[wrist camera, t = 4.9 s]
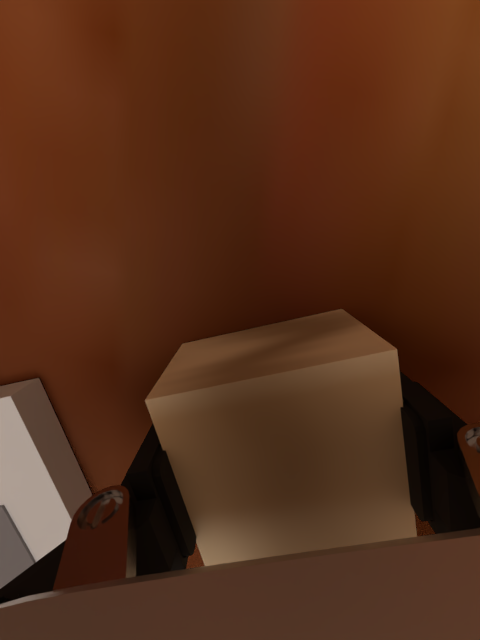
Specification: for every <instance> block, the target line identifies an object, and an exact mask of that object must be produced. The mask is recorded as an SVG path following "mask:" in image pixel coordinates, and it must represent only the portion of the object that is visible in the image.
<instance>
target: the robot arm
mask: <svg viewBox="0 0 480 640" xmlns="http://www.w3.org/2000/svg"><path fill="white" fill-rule="evenodd" d="M399 371H400V370H399ZM400 380H401V390H402V399H403V407H400V409H401V419H402V428H403V437H404V447H405V456H406V465H407V475H408V484H409V494H410V503H411V506H412V508H413V509H414V511H415V513H416V514H417V516H418V517H419V519H420V520H421V521H428V522H429V524H430V525H431V527H432V529H433V530H434V532H435V533H436V534H432V535H425V536H418V537H410V538H403V539H395V540H388V541H380V542H373V543H366V544H358V545H351V546H344V547H337V548H330V549H322V550H315V551H308V552H301V553H294V554H287V555H280V556H273V557H266V558H259V559H252V560H245V561H238V562H231V563H224V564H217V565H210V566H203V567H197V568H190V569H186V565H187V560H188V556H189V555H192V554H193V553H194V549H195V543H196V538H197V536H196V534H195V531H194V528H193V525H192V523H191V520H190V517H189V514H188V511H187V509H186V506H185V503H184V500H183V497H182V495H181V492H180V489H179V486H178V484H177V481H176V478H175V475H174V472H173V470H172V467H171V464H170V461H169V458H168V456H167V453H166V450H164V451H163V449H162V446H161V443H160V441H159V438H158V435H157V432H156V430H155V427H154V424H152V426H151V428H150V430H149V432H148V434H147V436H146V437H145V439H144V441H143V443H142V445H141V447H140V449H139V451H138V453H137V454H136V456H135V458H134V460H133V462H132V464H131V466H130V468H129V469H128V471H127V473H126V476H125V478H124V480H123V482H122V484H121V486H120V485H116V486H110V487H107V488H104V489H102V490H100V491H99V492H97V493H95V494H94V495H92V496H91V497H90V498H88V499H87V500H86V501H85V502H84V503H83V504H82V505H81V506H80V507H79V508H78V510H77V511H76V513H75V514H74V516H73V518H72V521H71V523H70V527H69V531H68V535H67V538H66V540H65V541H64V542H62V543H61V544H60V545H58V546H57V547H56V548H54V549H53V550H52V551H50V552H49V553H48V554H46V555H45V556H44V557H42V558H41V559H40V560H38V561H37V562H36V563H34V564H33V565H32V566H30V567H29V568H28V569H26V570H25V571H24V572H22V573H21V574H20V575H18V576H17V577H16V578H14V579H13V580H12V581H10V582H9V583H8V584H6V585H5V586H3V587H2V588H1V589H0V640H480V423H472V424H468V425H467V424H466V423H465V422H464V421H463V420H461V419H460V418H459V417H458V416H457V415H455V414H454V413H453V412H452V411H451V410H449V409H448V408H447V407H446V406H445V405H444V404H442V403H441V402H440V401H439V400H438V399H436V398H435V397H434V396H433V395H432V394H431V393H429V392H428V391H427V390H426V389H425V388H423V387H422V386H421V385H420V384H419V383H417V382H412V381H411V380H410V379H409V378H408V377H407V376H405V375H404V374H403V373H402V372H401V371H400Z"/></svg>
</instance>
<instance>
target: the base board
mask: <svg viewBox="0 0 480 640" xmlns="http://www.w3.org/2000/svg"><path fill="white" fill-rule="evenodd" d="M91 496H92V493H91V491H90V489H89V486H88V484H87V482H86V480H85V478H84V475H83V473H82V471H81V469H80V467H79V464H78V462H77V460H76V458H75V456H74V453H73V451H72V449H71V447H70V445H69V443H68V440H67V438H66V436H65V434H64V432H63V429H62V427H61V425H60V423H59V421H58V418H57V416H56V414H55V412H54V410H53V407H52V405H51V403H50V401H49V399H48V397H47V394H46V392H45V390H44V388H43V386H42V383H41V381H40V379H39V378H36V379H31V380H27V381H22V382H17V383H13V384H8V385H3V386H0V589H1V588H2V587H3V586H5V585H6V584H8V583H9V582H10V581H12V580H13V579H14V578H16V577H17V576H18V575H20V574H21V573H22V572H24V571H25V570H26V569H28V568H29V567H30V566H32V565H33V564H34V563H36V562H37V561H38V560H40V559H41V558H42V557H44V556H45V555H46V554H48V553H49V552H50V551H52V550H53V549H54V548H56V547H57V546H58V545H60V544H61V543H62V542H64V541H65V540H66V538H67V535H68V531H69V527H70V523H71V521H72V518H73V516H74V514H75V513H76V511H77V510H78V508H79V507H80V506H81V505H82V504H83V503H84V502H85V501H86V500H87V499H88V498H90V497H91Z"/></svg>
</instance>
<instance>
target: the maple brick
mask: <svg viewBox="0 0 480 640" xmlns="http://www.w3.org/2000/svg"><path fill="white" fill-rule="evenodd" d="M145 402H146V405H147V408H148V410H149V413H150V416H151V419H152V421H153V424H154V427H155V430H156V432H157V435H158V438H159V441H160V443H161V446H162V449H163V451H164V450H166V453H167V456H168V458H169V461H170V464H171V467H172V470H173V472H174V475H175V478H176V481H177V484H178V486H179V489H180V492H181V495H182V497H183V500H184V503H185V506H186V509H187V511H188V514H189V517H190V520H191V523H192V525H193V528H194V531H195V534H196V536H197V538H196V543H197V545H198V548H199V551H200V554H201V556H202V559H203V562H204V565H205V566H210V565H217V564H224V563H231V562H238V561H245V560H252V559H259V558H266V557H273V556H280V555H287V554H294V553H301V552H308V551H315V550H322V549H330V548H337V547H344V546H351V545H358V544H366V543H373V542H380V541H388V540H395V539H403V538H410V537H417V532H416V522H415V513H414V509H413V508H412V506H411V503H410V494H409V484H408V475H407V465H406V456H405V447H404V437H403V428H402V419H401V409H400V407H403V399H402V390H401V380H400V371H399V361H398V352H397V349H396V348H395V347H394V346H392V345H391V344H389V343H388V342H387V341H385V340H384V339H383V338H381V337H380V336H379V335H377V334H376V333H374V332H373V331H372V330H370V329H369V328H368V327H366V326H365V325H364V324H362V323H361V322H359V321H358V320H357V319H355V318H354V317H353V316H351V315H350V314H349V313H347V312H346V311H344V310H343V309H338V310H334V311H329V312H325V313H320V314H316V315H311V316H306V317H302V318H297V319H293V320H288V321H284V322H279V323H275V324H270V325H265V326H261V327H256V328H252V329H247V330H243V331H238V332H233V333H229V334H224V335H220V336H215V337H211V338H206V339H201V340H197V341H192V342H188V343H183V344H182V345H181V346H180V348H179V349H178V351H177V352H176V354H175V355H174V357H173V358H172V360H171V361H170V363H169V364H168V366H167V368H166V369H165V371H164V372H163V374H162V375H161V377H160V378H159V380H158V381H157V383H156V384H155V386H154V387H153V389H152V390H151V392H150V393H149V395H148V396H147V398H146V399H145Z"/></svg>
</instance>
